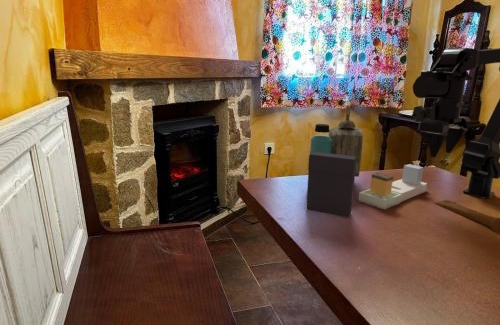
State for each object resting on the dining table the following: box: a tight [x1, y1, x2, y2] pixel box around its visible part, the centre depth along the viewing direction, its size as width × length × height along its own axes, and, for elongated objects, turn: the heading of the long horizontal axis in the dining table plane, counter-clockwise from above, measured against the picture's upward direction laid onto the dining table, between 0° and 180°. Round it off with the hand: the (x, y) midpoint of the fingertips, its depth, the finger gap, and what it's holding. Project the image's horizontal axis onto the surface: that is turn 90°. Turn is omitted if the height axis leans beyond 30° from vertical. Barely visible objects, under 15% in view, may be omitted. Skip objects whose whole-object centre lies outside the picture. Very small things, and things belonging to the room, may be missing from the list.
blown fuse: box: [369, 172, 394, 200], centre depth 97 cm, size 3×5×7 cm
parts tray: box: [358, 188, 402, 211], centre depth 98 cm, size 8×8×2 cm
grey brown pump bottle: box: [328, 104, 364, 178], centre depth 111 cm, size 14×9×25 cm, turn 170°
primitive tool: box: [432, 199, 500, 232], centre depth 90 cm, size 19×6×4 cm, turn 16°
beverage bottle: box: [308, 123, 332, 173], centre depth 105 cm, size 6×7×20 cm
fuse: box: [401, 163, 424, 185], centre depth 107 cm, size 3×4×7 cm, turn 39°
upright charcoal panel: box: [305, 152, 356, 218], centre depth 89 cm, size 11×4×15 cm, turn 65°
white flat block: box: [391, 178, 428, 202], centre depth 105 cm, size 15×7×2 cm, turn 129°
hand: (440, 154), depth 98 cm, fingers open, 9 cm apart
